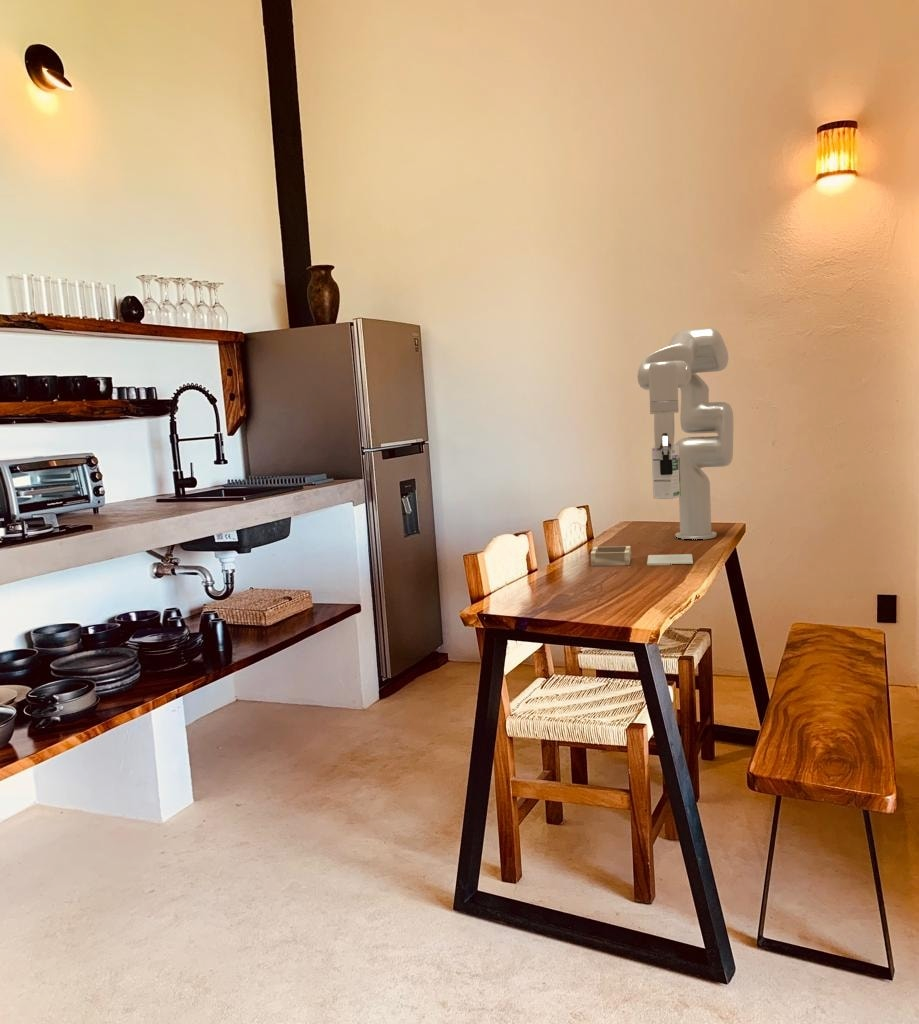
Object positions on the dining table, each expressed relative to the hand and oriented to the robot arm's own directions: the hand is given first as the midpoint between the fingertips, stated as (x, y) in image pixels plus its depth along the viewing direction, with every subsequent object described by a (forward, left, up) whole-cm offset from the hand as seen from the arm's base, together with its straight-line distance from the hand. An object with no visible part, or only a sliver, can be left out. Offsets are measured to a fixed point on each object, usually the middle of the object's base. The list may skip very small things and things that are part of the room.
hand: (666, 472), depth 233 cm
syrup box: (0, 0, -7) cm, 7 cm away
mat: (0, 0, -24) cm, 24 cm away
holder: (0, -16, -24) cm, 29 cm away
